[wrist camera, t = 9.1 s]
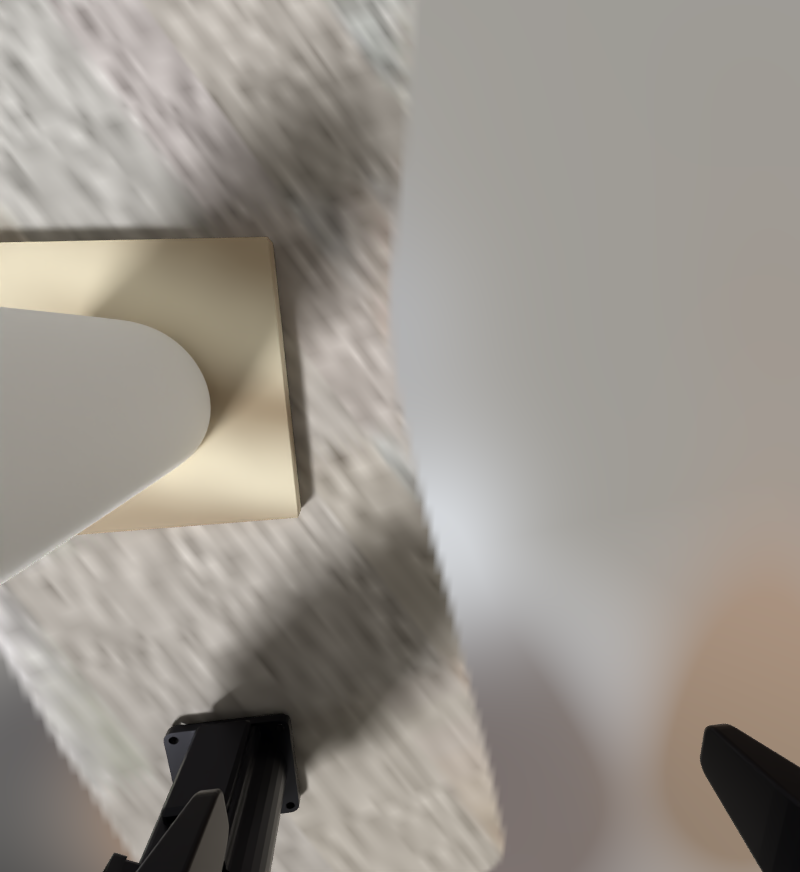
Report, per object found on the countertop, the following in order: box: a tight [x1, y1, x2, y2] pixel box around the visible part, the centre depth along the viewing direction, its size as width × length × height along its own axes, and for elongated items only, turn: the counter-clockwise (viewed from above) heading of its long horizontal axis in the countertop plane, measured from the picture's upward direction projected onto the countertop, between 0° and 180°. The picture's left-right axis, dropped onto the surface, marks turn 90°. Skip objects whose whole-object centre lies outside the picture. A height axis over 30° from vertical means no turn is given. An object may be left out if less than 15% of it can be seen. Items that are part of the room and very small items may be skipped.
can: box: [0, 307, 211, 585], centre depth 11 cm, size 6×6×12 cm
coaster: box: [0, 237, 301, 535], centre depth 17 cm, size 12×12×1 cm
